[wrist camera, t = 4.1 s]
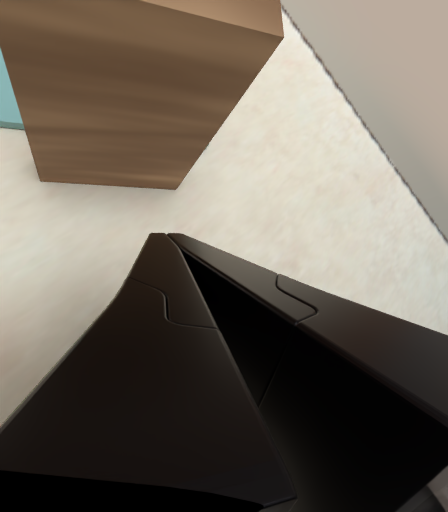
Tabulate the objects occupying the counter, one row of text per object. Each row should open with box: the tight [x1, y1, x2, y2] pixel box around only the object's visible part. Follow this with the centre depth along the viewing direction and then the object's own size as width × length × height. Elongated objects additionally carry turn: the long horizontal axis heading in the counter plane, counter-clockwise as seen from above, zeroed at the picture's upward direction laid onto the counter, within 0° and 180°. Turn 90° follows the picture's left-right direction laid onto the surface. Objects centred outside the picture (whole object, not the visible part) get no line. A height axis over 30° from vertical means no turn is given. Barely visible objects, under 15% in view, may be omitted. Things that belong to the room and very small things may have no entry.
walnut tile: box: [0, 0, 284, 190], centre depth 14 cm, size 1×7×12 cm, turn 94°
